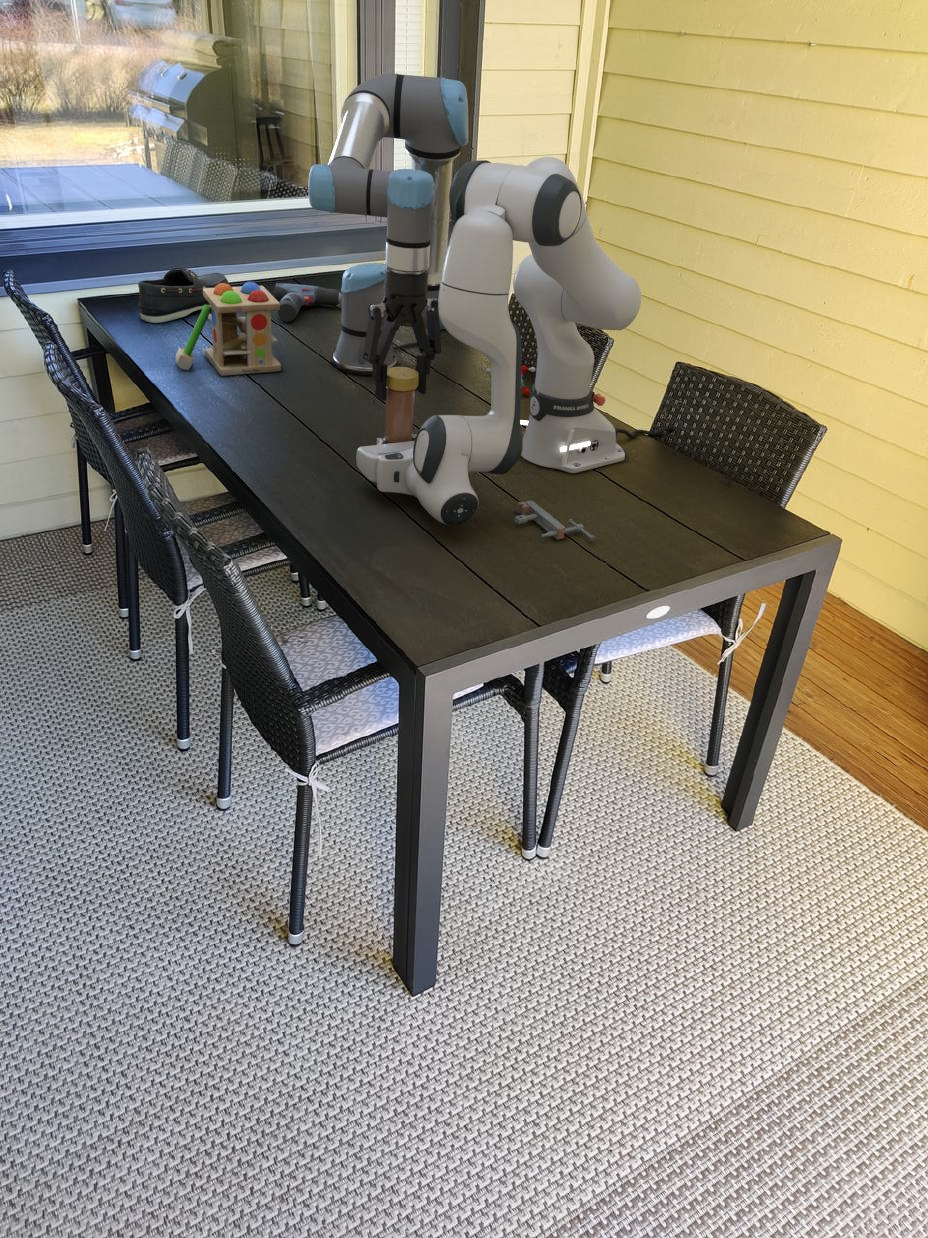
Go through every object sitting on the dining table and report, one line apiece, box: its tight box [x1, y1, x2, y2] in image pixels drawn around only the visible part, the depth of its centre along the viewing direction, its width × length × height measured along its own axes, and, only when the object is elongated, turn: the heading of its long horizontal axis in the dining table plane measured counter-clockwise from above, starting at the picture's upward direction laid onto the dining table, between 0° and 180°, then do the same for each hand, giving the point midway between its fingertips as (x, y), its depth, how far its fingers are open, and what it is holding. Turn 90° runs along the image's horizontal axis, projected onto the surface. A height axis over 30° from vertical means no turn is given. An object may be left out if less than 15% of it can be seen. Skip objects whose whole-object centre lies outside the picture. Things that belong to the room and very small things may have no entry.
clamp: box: [514, 500, 596, 542], centre depth 176 cm, size 15×2×10 cm
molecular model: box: [485, 365, 536, 397], centre depth 227 cm, size 12×10×10 cm
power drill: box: [274, 282, 342, 322], centre depth 265 cm, size 5×19×20 cm
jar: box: [383, 387, 417, 444], centre depth 185 cm, size 5×5×20 cm
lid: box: [387, 366, 419, 391], centre depth 180 cm, size 6×6×2 cm
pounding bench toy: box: [174, 281, 282, 377], centre depth 225 cm, size 23×14×18 cm, turn 116°
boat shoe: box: [137, 266, 230, 324], centre depth 260 cm, size 13×33×10 cm, turn 147°
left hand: (400, 394), depth 182 cm, fingers open, 8 cm apart
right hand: (396, 439), depth 188 cm, fingers closed on jar, 5 cm apart
